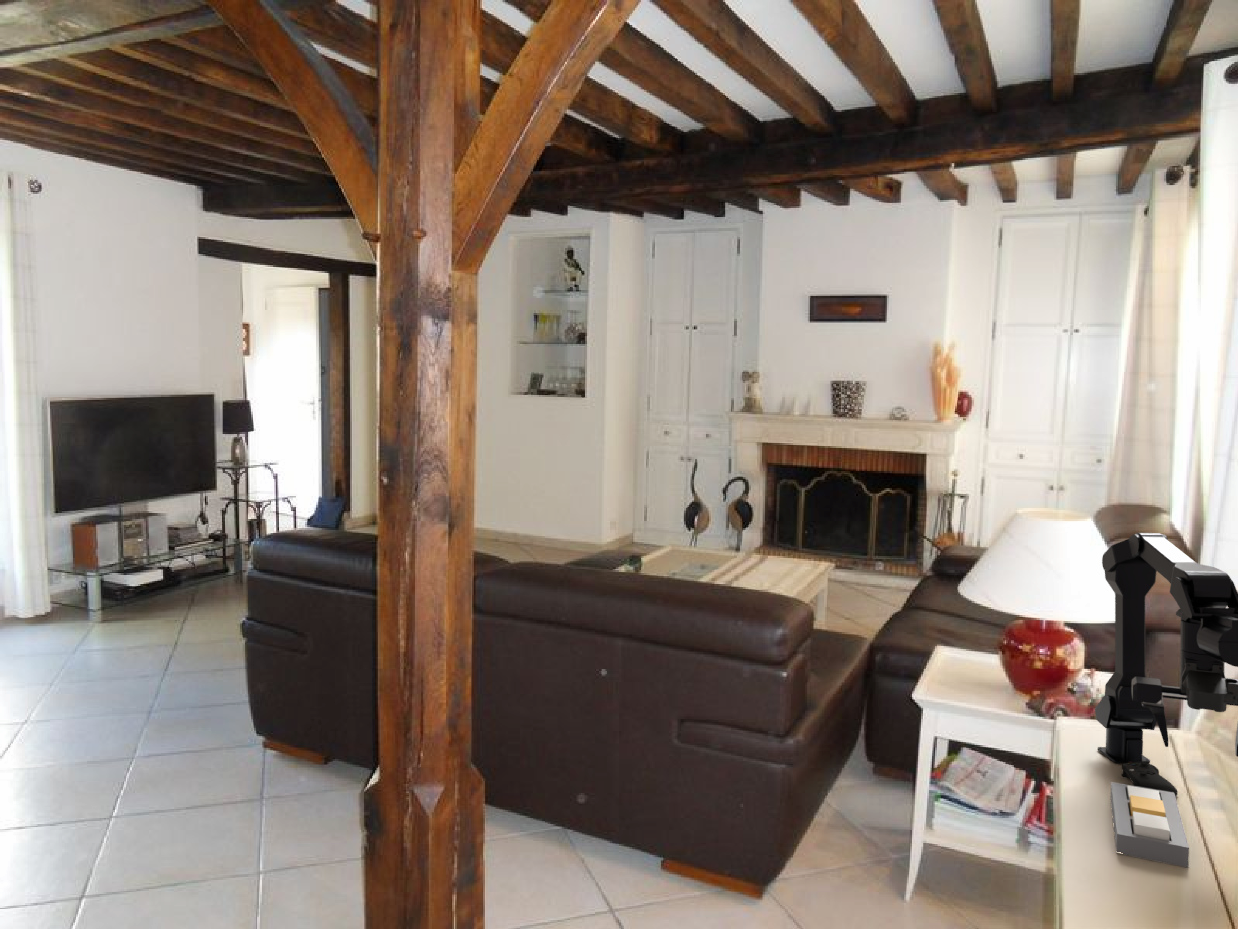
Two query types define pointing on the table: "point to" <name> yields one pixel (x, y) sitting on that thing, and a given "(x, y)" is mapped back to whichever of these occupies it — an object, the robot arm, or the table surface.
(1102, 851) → the table surface
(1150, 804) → the button mid
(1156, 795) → the button
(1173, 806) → the switch strip
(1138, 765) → the game controller
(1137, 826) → the button
